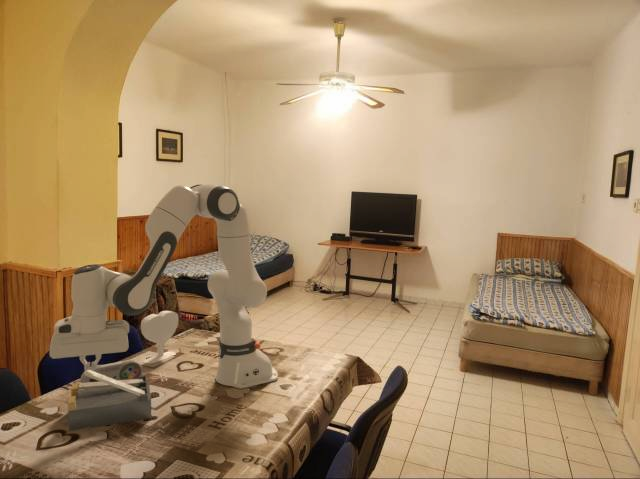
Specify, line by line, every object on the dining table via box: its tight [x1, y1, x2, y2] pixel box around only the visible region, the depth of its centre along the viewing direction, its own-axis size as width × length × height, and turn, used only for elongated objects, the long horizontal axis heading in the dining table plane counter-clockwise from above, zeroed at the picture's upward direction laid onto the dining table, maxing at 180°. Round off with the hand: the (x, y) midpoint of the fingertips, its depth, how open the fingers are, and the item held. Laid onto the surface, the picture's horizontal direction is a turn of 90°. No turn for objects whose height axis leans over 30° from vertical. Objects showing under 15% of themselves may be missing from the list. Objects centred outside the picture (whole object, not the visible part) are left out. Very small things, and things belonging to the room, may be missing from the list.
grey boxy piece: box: [67, 374, 152, 432], centre depth 144 cm, size 22×15×8 cm
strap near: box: [84, 370, 145, 396], centre depth 140 cm, size 18×3×1 cm, turn 114°
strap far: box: [79, 379, 144, 390], centre depth 148 cm, size 18×3×1 cm, turn 113°
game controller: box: [80, 359, 143, 383], centre depth 162 cm, size 20×2×8 cm, turn 124°
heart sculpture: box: [140, 310, 179, 364], centre depth 189 cm, size 16×5×18 cm, turn 148°
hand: (91, 368), depth 136 cm, fingers closed
